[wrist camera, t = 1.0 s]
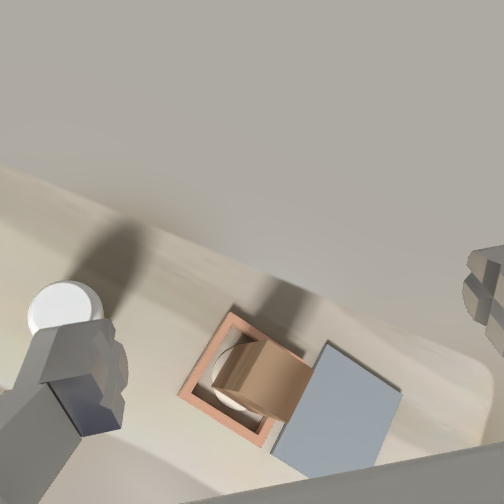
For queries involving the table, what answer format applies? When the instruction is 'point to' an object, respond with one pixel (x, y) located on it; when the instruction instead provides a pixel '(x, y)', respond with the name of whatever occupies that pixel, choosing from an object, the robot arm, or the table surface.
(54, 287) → the supplement bottle
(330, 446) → the rubber mat
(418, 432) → the table surface
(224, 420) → the terracotta frame
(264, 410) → the walnut block
